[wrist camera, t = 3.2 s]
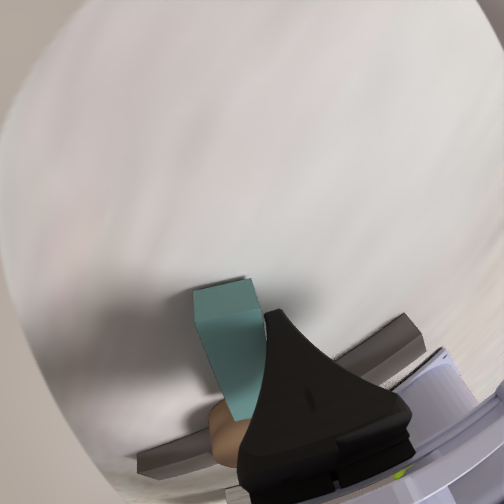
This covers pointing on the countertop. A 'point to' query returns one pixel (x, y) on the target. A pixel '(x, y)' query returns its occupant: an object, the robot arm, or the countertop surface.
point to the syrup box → (237, 496)
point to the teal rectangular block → (233, 341)
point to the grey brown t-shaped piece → (232, 432)
